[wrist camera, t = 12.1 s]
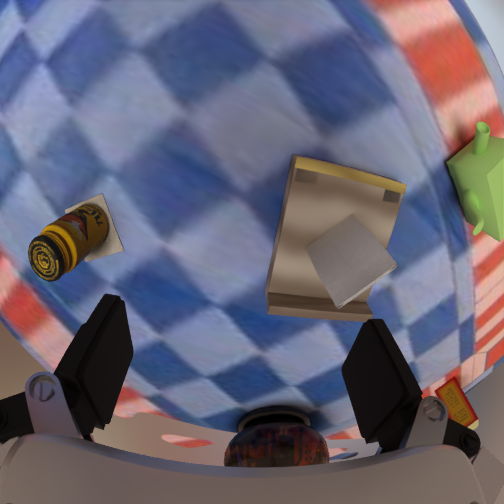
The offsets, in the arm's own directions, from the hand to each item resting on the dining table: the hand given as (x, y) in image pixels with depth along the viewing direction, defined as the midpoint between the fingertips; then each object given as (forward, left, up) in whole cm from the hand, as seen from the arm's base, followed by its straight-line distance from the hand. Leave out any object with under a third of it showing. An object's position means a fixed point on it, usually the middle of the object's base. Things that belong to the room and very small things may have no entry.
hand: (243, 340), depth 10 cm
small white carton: (+3, +11, -22) cm, 25 cm away
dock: (+3, +12, -25) cm, 27 cm away
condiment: (+7, -20, -25) cm, 33 cm away
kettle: (-10, +33, -25) cm, 42 cm away
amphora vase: (+48, +14, -25) cm, 56 cm away
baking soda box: (+40, +62, -25) cm, 78 cm away
